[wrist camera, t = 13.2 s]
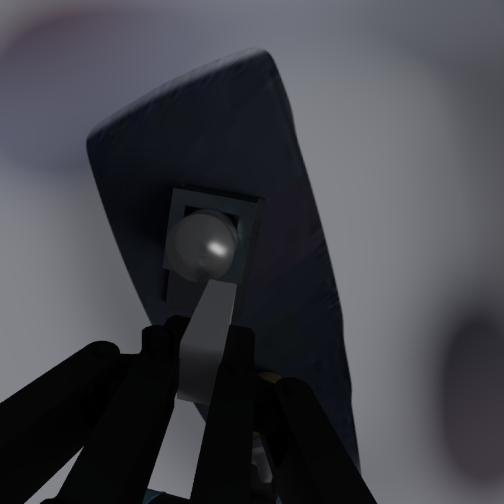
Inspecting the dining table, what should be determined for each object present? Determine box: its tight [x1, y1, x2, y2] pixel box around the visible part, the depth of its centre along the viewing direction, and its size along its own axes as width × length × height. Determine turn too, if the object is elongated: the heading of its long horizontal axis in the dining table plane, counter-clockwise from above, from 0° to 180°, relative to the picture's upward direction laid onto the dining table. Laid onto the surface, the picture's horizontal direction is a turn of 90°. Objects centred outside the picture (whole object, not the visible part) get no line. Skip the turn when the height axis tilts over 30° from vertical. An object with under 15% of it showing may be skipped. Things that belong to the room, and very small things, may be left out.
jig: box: [163, 184, 265, 321], centre depth 35 cm, size 16×10×7 cm, turn 169°
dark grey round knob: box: [166, 209, 238, 283], centre depth 31 cm, size 6×6×10 cm
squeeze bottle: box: [252, 372, 282, 483], centre depth 35 cm, size 8×8×18 cm
